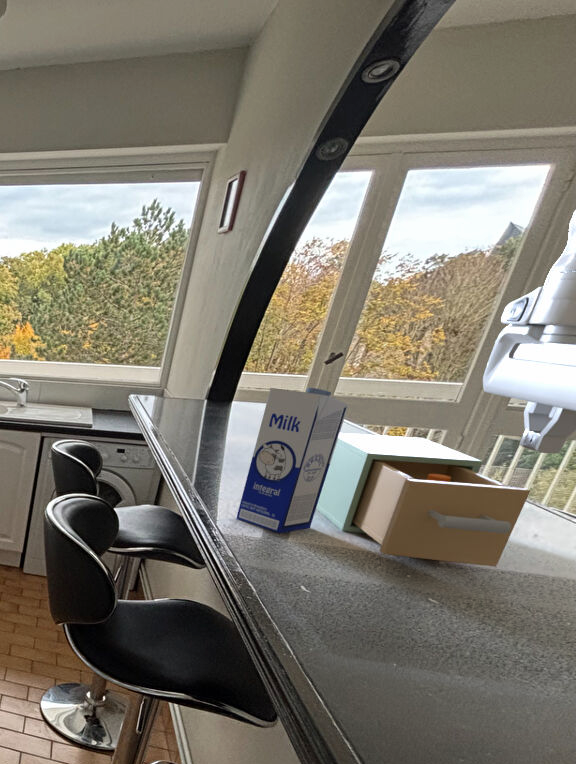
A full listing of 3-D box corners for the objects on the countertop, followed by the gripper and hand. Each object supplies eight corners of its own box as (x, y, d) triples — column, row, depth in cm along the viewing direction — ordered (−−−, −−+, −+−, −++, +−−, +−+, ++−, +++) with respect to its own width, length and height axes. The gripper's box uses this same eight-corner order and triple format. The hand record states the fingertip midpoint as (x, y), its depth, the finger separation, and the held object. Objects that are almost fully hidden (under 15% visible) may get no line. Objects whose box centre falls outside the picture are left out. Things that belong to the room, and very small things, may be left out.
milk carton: (234, 518, 91) (269, 385, 84) (265, 513, 93) (301, 384, 86) (279, 533, 85) (321, 392, 77) (311, 528, 87) (354, 390, 80)
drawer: (518, 580, 69) (556, 501, 65) (398, 566, 72) (428, 490, 68) (434, 527, 85) (460, 461, 81) (339, 518, 88) (361, 454, 85)
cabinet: (449, 542, 82) (483, 461, 78) (341, 530, 86) (367, 453, 82) (397, 508, 96) (423, 438, 91) (306, 500, 100) (326, 432, 95)
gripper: (762, 307, 45) (667, 479, 51) (570, 306, 63) (514, 434, 69) (651, 305, 47) (571, 471, 53) (495, 306, 65) (447, 429, 70)
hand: (538, 450), depth 61 cm, fingers closed
